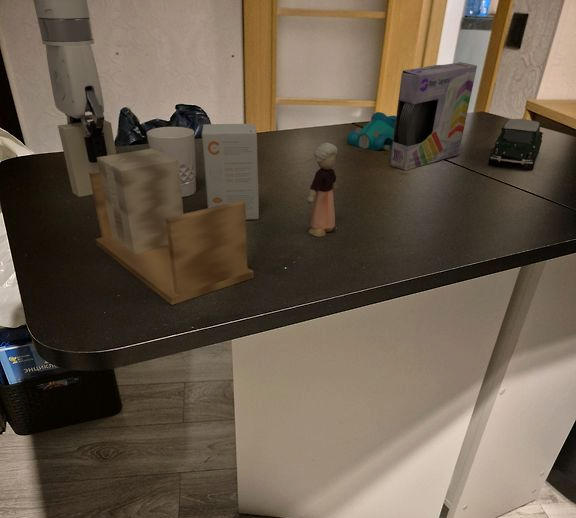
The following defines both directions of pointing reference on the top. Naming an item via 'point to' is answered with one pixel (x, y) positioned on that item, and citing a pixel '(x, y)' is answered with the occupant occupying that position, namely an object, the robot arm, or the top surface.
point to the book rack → (166, 228)
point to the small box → (231, 165)
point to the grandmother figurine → (323, 191)
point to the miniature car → (518, 142)
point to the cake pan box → (431, 114)
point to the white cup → (177, 152)
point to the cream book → (82, 155)
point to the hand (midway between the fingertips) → (90, 156)
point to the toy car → (374, 133)
